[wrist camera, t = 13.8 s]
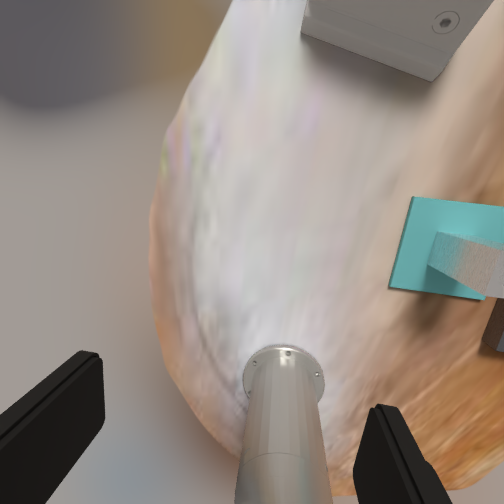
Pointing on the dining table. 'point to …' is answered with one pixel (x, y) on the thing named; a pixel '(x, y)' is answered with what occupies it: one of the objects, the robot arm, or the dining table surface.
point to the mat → (423, 235)
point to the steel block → (470, 261)
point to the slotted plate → (496, 327)
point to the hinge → (396, 29)
